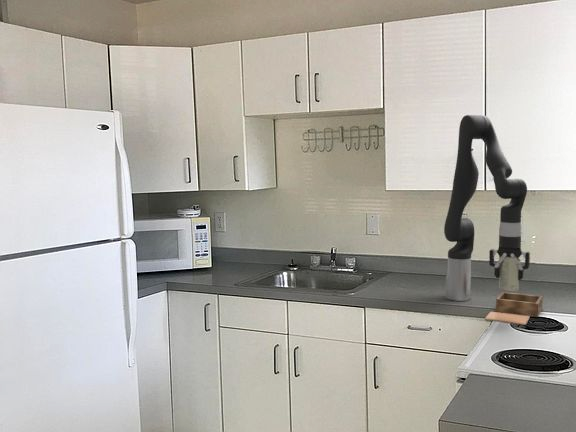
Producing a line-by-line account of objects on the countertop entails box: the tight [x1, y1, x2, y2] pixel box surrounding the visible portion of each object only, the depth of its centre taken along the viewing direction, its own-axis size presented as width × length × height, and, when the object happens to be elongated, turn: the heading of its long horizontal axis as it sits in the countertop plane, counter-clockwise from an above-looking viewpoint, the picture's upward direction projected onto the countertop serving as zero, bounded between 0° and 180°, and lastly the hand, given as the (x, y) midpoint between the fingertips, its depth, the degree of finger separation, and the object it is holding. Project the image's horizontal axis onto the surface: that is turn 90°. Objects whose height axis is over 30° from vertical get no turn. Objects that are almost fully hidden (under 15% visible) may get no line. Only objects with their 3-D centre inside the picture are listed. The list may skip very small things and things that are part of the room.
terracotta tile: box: [484, 311, 531, 326], centre depth 230 cm, size 14×10×1 cm
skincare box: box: [498, 255, 520, 292], centre depth 228 cm, size 6×4×12 cm
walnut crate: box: [495, 291, 544, 318], centre depth 240 cm, size 15×12×5 cm
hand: (508, 278), depth 228 cm, fingers closed on skincare box, 7 cm apart
